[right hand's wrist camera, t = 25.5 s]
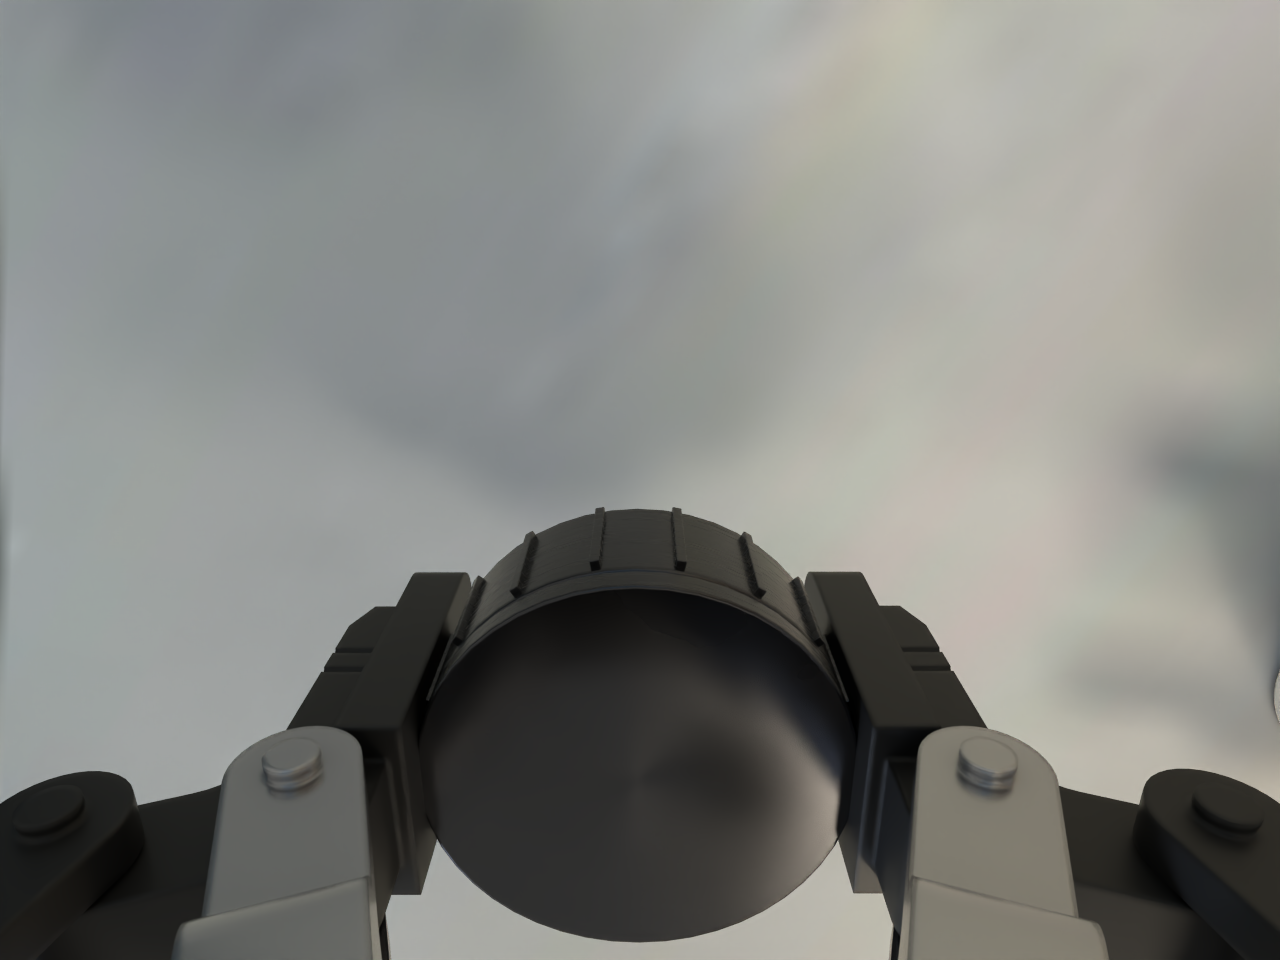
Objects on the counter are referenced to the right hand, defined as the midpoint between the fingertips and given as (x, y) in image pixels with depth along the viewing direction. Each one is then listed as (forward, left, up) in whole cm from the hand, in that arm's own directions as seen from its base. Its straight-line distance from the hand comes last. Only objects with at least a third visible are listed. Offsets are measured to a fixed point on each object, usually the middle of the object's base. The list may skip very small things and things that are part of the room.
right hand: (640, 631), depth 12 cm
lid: (0, 0, +3) cm, 3 cm away
